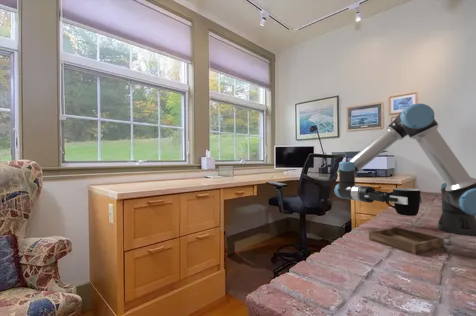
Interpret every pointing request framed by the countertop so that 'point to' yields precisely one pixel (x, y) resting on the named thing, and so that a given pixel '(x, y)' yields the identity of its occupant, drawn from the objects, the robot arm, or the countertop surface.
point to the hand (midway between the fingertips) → (414, 200)
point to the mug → (413, 201)
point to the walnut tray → (406, 240)
